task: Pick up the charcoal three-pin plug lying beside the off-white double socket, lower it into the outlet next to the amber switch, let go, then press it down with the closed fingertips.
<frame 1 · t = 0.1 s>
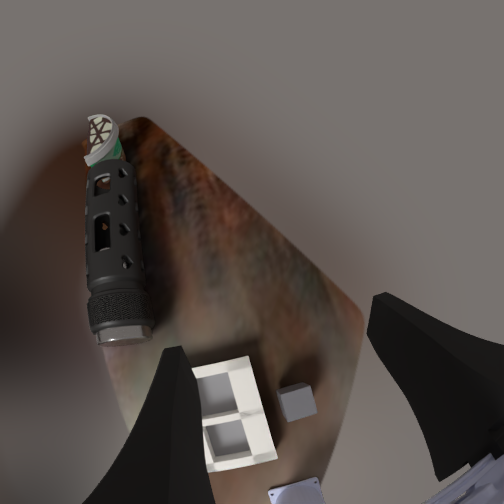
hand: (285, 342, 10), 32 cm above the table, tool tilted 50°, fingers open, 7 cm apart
double socket: (222, 414, 36), on the table
muzzle brake: (127, 261, 44), on the table
food container: (118, 162, 51), on the table
plug: (291, 397, 37), on the table
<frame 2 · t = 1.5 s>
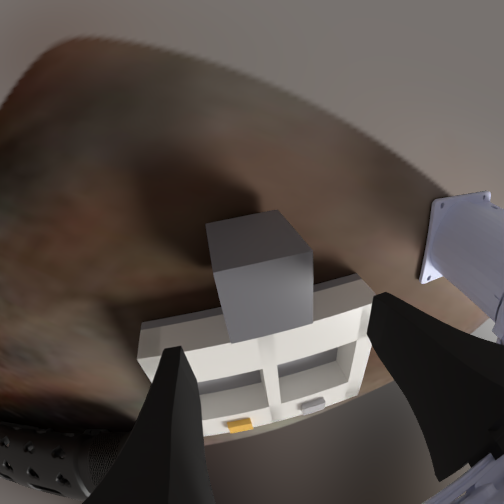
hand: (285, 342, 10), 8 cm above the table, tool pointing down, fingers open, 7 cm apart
double socket: (262, 355, 22), on the table
muzzle brake: (62, 428, 24), on the table
plug: (243, 241, 17), on the table
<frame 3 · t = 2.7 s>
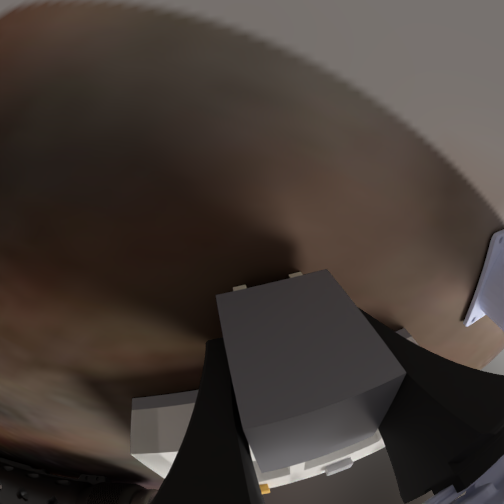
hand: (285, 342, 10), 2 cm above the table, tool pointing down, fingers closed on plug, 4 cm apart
double socket: (282, 420, 17), on the table
muzzle brake: (56, 469, 18), on the table
plug: (270, 308, 11), on the table, touching gripper
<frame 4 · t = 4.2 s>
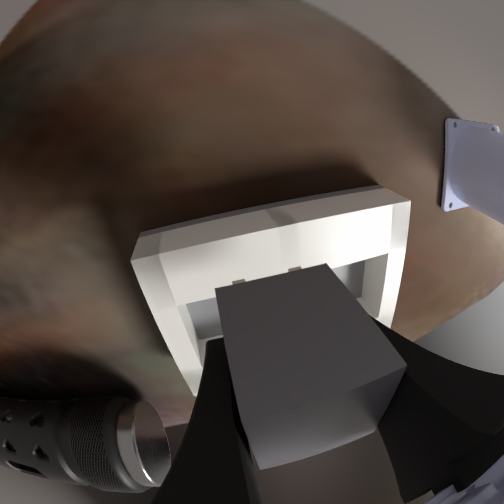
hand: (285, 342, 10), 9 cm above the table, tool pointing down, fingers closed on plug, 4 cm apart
double socket: (278, 284, 20), on the table
muzzle brake: (48, 398, 22), on the table
plug: (269, 303, 11), point 7 cm above the table, touching gripper
when the fingers open (4 cm above the table, at t = 5.8 s): plug drops 1 cm, resting on double socket.
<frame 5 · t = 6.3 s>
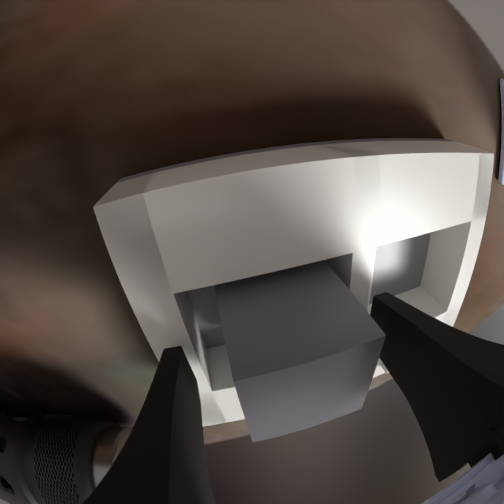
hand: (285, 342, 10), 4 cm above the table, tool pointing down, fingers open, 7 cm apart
double socket: (323, 266, 14), on the table
muzzle brake: (19, 412, 15), on the table
plug: (263, 287, 12), point 1 cm above the table, touching double socket
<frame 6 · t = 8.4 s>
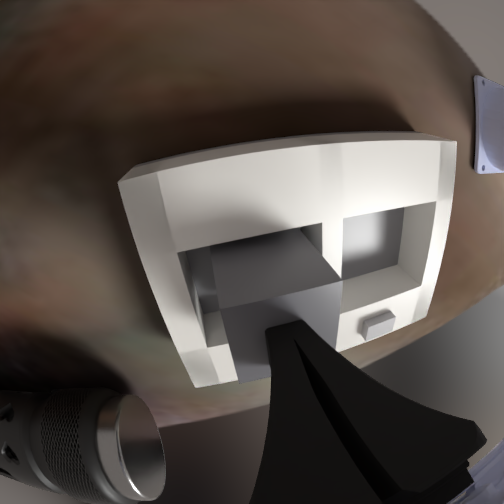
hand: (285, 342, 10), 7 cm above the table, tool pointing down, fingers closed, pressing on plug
double socket: (305, 242, 16), on the table
muzzle brake: (26, 390, 18), on the table
plug: (252, 257, 15), point 1 cm above the table, touching double socket, gripper
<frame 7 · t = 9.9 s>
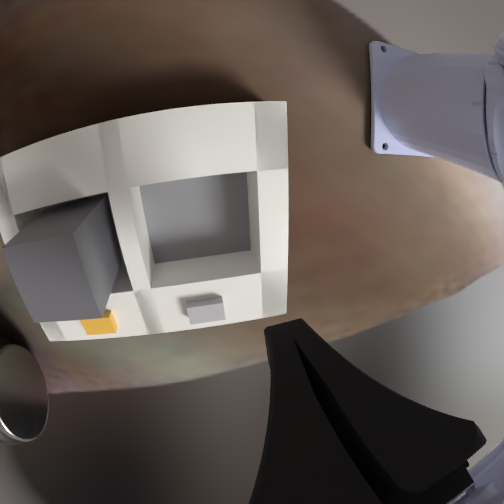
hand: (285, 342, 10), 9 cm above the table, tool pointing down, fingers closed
double socket: (139, 218, 16), on the table
plug: (87, 228, 15), point 1 cm above the table, touching double socket
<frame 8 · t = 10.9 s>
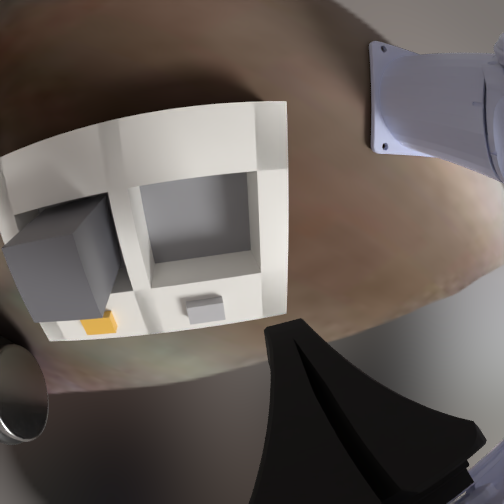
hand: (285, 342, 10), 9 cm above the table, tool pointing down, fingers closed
double socket: (139, 218, 16), on the table
plug: (87, 228, 15), point 1 cm above the table, touching double socket
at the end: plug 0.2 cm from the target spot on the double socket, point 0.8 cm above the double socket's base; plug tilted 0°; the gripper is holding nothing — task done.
